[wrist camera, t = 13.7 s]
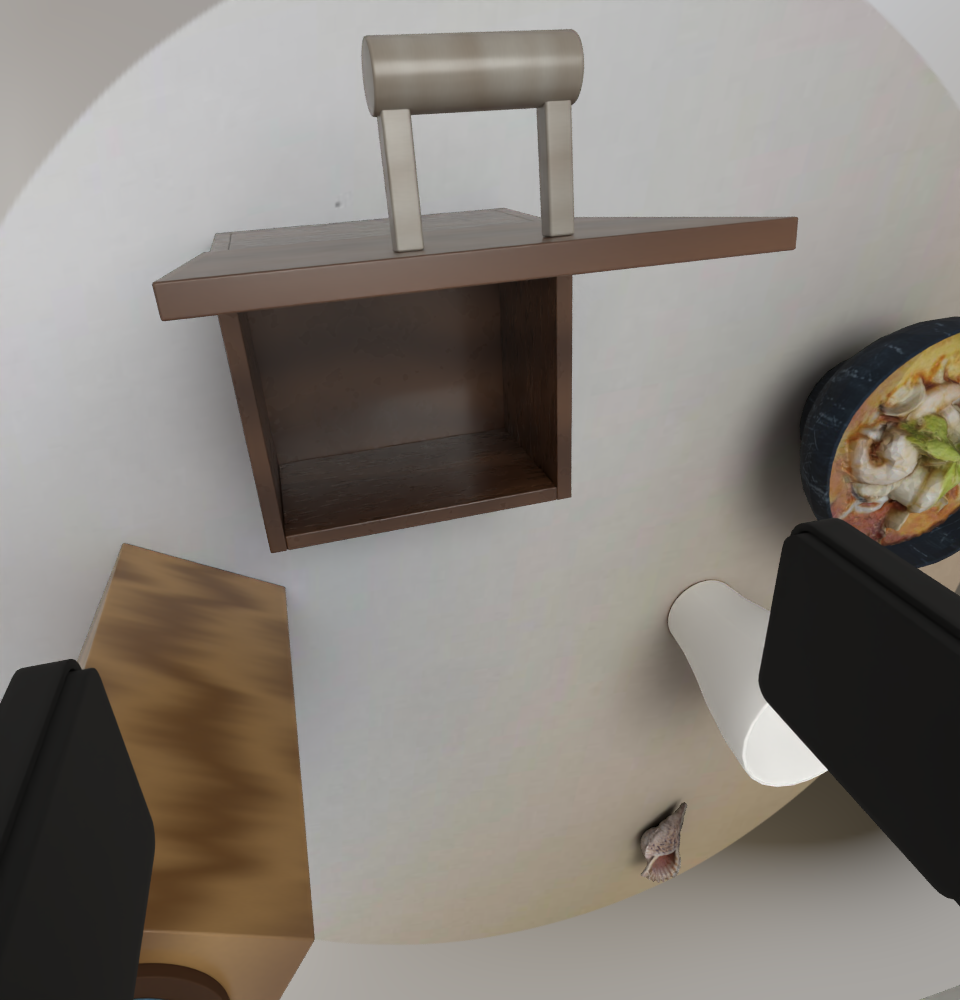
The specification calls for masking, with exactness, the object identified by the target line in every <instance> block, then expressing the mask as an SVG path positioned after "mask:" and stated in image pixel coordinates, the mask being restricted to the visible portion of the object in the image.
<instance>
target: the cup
mask: <svg viewBox="0 0 960 1000" xmlns="http://www.w3.org/2000/svg"><path fill="white" fill-rule="evenodd" d="M769 617H770V611H769V610H767V609H765V608H763V607H761V606H759V605H757V604H756V603H754V602H752V601H750V600H748V599H746V598H744V597H743V596H742V595H740V594H739V593H738V592H736V591H735V590H733V589H732V588H731V587H729V586H728V585H726V584H725V583H724V582H720V581H717V580H707V581H703V582H699V583H697V584H695V585H693V586H691V587H690V588H688V589H687V590H686V591H684V592H683V593H682V594H681V595H680V596H679V597H678V598H677V599H676V601H675V603H674V604H673V606H672V607H671V610H670V613H669V616H668V626H669V630H670V632H671V634H672V635H673V637H674V638H675V640H676V641H677V643H678V644H679V646H680V647H681V649H682V650H683V652H684V654H685V656H686V658H687V660H688V662H689V664H690V666H691V668H692V670H693V672H694V675H695V677H696V679H697V682H698V684H699V687H700V689H701V692H702V694H703V697H704V699H705V702H706V704H707V706H708V708H709V710H710V712H711V714H712V716H713V718H714V720H715V722H716V724H717V726H718V728H719V730H720V732H721V734H722V736H723V738H724V740H725V741H726V743H727V744H728V746H729V747H730V749H731V750H732V752H733V753H734V755H735V756H736V758H737V759H738V761H739V762H740V764H741V765H742V767H743V768H744V770H745V771H746V772H747V774H748V775H749V776H750V778H752V779H753V780H755V781H757V782H759V783H761V784H763V785H769V786H776V787H780V786H789V785H795V784H798V783H801V782H804V781H807V780H810V779H812V778H814V777H816V776H818V775H820V774H822V773H824V772H826V771H828V770H827V769H826V767H825V766H824V765H823V764H822V763H821V762H820V761H819V760H818V759H817V757H816V756H815V755H814V754H813V753H812V752H811V751H810V750H809V749H808V747H807V746H806V745H805V744H804V743H803V742H802V741H801V740H800V739H799V737H798V736H797V735H796V734H795V733H794V732H793V731H792V730H791V729H790V727H789V726H788V725H787V724H786V723H785V722H784V721H783V720H782V719H781V717H780V716H779V715H778V714H777V713H776V712H775V711H774V710H773V709H772V707H771V706H770V705H769V704H768V703H767V702H766V700H765V699H764V697H763V695H762V693H761V691H760V687H759V682H758V677H759V671H760V665H761V660H762V654H763V649H764V644H765V638H766V633H767V628H768V622H769Z"/></svg>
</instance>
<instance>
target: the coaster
mask: <svg viewBox="0 0 960 1000" xmlns="http://www.w3.org/2000/svg"><path fill="white" fill-rule="evenodd" d="M140 998H153V999H164V1000H230V999H229V996H228V994H227V992H226V990H225V989H224V988H223V986H222V985H221V984H220V983H219V982H217V981H216V980H215V979H214V978H212V977H211V976H209V975H207V974H205V973H203V972H201V971H198V970H196V969H192V968H189V967H185V966H179V965H174V964H161V963H145V964H138V971H137V978H136V985H135V992H134V999H140Z"/></svg>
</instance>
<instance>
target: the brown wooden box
mask: <svg viewBox="0 0 960 1000" xmlns="http://www.w3.org/2000/svg"><path fill="white" fill-rule="evenodd" d="M421 220H422V230H423V232H424V231H435V230H445V229H456V228H467V227H477V226H488V225H499V224H509V223H520V222H531V221H541V218H540V217H536V216H533V215H529V214H525V213H521V212H518V211H514V210H510V209H506V208H498V209H487V210H475V211H464V212H453V213H442V214H430V215H421ZM382 235H391V231H390V223H389V218H385V219H374V220H363V221H351V222H340V223H329V224H318V225H306V226H295V227H284V228H273V229H261V230H250V231H239V232H228V233H216V234H215V238H214V241H213V244H212V247H211V250H210V252H211V251H222V250H233V249H243V248H254V247H265V246H275V245H286V244H297V243H307V242H318V241H328V240H339V239H350V238H360V237H371V236H382ZM218 318H219V323H220V327H221V332H222V336H223V341H224V345H225V350H226V354H227V359H228V363H229V368H230V372H231V377H232V381H233V386H234V390H235V395H236V399H237V404H238V408H239V413H240V417H241V422H242V426H243V431H244V435H245V439H246V444H247V448H248V453H249V457H250V462H251V466H252V471H253V475H254V480H255V484H256V489H257V493H258V498H259V502H260V507H261V511H262V516H263V520H264V525H265V529H266V534H267V538H268V543H269V547H270V551H271V553H276V552H281V551H286V550H287V549H288V550H292V549H297V548H302V547H308V546H313V545H318V544H324V543H329V542H334V541H340V540H345V539H350V538H356V537H361V536H366V535H372V534H377V533H382V532H388V531H393V530H398V529H404V528H409V527H414V526H419V525H425V524H430V523H435V522H441V521H446V520H451V519H457V518H462V517H467V516H473V515H478V514H483V513H489V512H494V511H499V510H505V509H510V508H515V507H521V506H526V505H531V504H537V503H542V502H547V501H553V500H556V499H557V500H559V499H564V498H570V497H571V426H572V275H567V276H558V277H549V278H540V279H532V280H523V281H514V282H505V283H496V284H487V285H479V286H470V287H461V288H452V289H443V290H434V291H426V292H417V293H408V294H399V295H390V296H382V297H373V298H364V299H355V300H346V301H337V302H329V303H320V304H311V305H302V306H293V307H284V308H276V309H267V310H258V311H249V312H240V313H231V314H223V315H218Z"/></svg>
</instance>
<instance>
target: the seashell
mask: <svg viewBox="0 0 960 1000" xmlns="http://www.w3.org/2000/svg"><path fill="white" fill-rule="evenodd" d="M686 808H687V804H686V803H685V802H684V803H682V804H681V805H680V807H679V808H678V809H677V810H676V811H675V812H674V813H673V814H672V815H670V816H668V817H667V818H666V819H665V820H663V821H662V822H661V823H660V824H659V826H658V827H654V828H653V827H652V828H651V829H649V830H647V831H646V832H645V833H644V834H643V836H642V838H641V842H640V843H641V850H642V852H643V854H644V856H645V858H646V861H647V866H646V868H645V870H644V871H643V872H642V873H641V876H644V877H646V878H648V879H649V880H653V882H654V881H655V880H656V881H657V882H658V883H659V882H660V880H661V881H663V882H664V880H665V879H667V880H668V879H669V878H670V877H675V876H676V875H677V874H678V871H679V869H680V865H681V864H680V862H681V857H679V853H678V852H679V845H680V831H681V828H682V825H683V820H684V815H685V811H686ZM679 858H680V859H679Z"/></svg>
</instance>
